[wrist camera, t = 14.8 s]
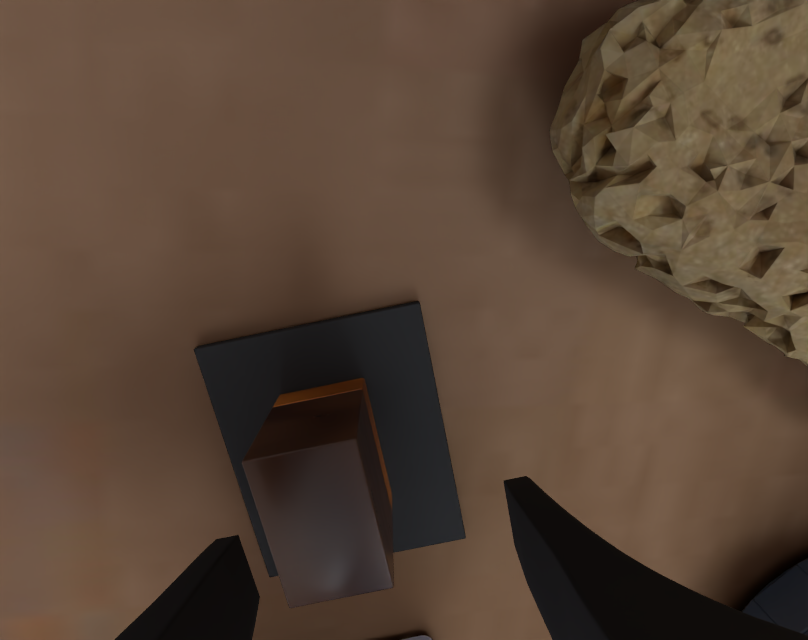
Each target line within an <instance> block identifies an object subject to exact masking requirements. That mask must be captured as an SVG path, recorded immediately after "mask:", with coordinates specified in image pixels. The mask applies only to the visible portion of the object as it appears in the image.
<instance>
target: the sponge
mask: <svg viewBox="0 0 808 640" xmlns="http://www.w3.org/2000/svg"><path fill="white" fill-rule="evenodd" d="M549 132H550V138H551V145H552V151H553V153H554V155H555V157H556V159H557V161H558V163H559V165H560V166H561V168H562V170H563V172H564V174H565V176H566V177H567V178H568V180H569V184H570V191H571V196H572V199H573V202H574V205H575V208H576V210H577V211H578V213H579V214H580V216H581V218H582V219H583V221H584V222H585V224H586V225H587V227H588V228H589V229H590V231H591V232H592V233H593V235H594V236H595V237H596V239H597V240H598V241H599V242H601V243H602V244H604V245H605V246H607V247H608V248H610V249H611V250H613V251H614V252H618V253H621V254H623V255H626V256H637V260H638V261H637V264H636V267H635V269H636V270H638V271H640V272H643V273H645V274H647V275H649V276H651V277H653V278H656V279H657V280H658V281H660V282H661V283H662V284H664V285H665V286H667V287H668V288H669V289H671V290H672V291H674V292H675V293H678V294H680V295H682V296H685V297H687V298H689V299H690V300H691V301H692V302H693V303H694V304H695V305H696V306H697V307H698V308H700V309H701V310H702V311H703V312H706V313H709V314H712V315H716V316H724V317H727V316H729V317H731V318H734V319H736V320H739V321H741V322H744V323H745V325H744V326H743V327H745V328H746V329H748V330H750V331H751V332H753V333H754V334H755V335H757V336H758V337H760V338H761V339H763V340H764V341H766V342H767V343H769V344H771V345H774V346H775V347H776V348H778V349H779V350H780V351H782V352H783V353H784V354H785V355H784V356H786V357H791V358H796V359H799V360H800V361H802V362H803V363H804V364H805V365H807V366H808V0H638V1H635V2H633V3H630V4H628V5H626V6H624V7H622V8H620V9H618V10H617V11H616V12H615V14H614V15H613V16H612V17H611V18H610V20H609V21H608V22H607V23H605V24H603V25H602V26H601V27H599V28H598V29H597V30H595V31H594V32H593V33H591V34H590V35H589V36H587V37H586V38H585V39H583V40H582V46H581V52H580V58H579V61H578V63H577V65H576V67H575V69H574V70H573V72H572V74H571V76H570V78H569V80H568V81H567V83H566V85H565V87H564V91H563V94H562V97H561V101H560V104H559V107H558V110H557V112H556V115H555V117H554V120H553V122H552V125H551V128H550V130H549Z"/></svg>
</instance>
